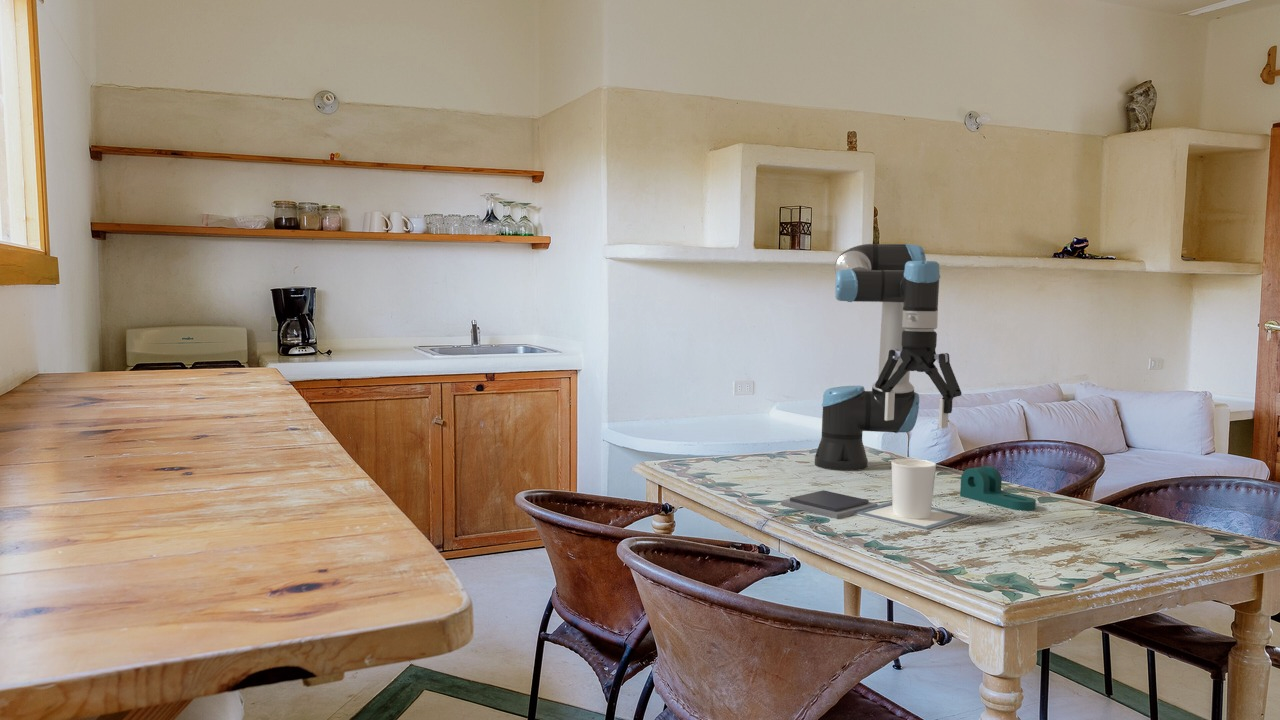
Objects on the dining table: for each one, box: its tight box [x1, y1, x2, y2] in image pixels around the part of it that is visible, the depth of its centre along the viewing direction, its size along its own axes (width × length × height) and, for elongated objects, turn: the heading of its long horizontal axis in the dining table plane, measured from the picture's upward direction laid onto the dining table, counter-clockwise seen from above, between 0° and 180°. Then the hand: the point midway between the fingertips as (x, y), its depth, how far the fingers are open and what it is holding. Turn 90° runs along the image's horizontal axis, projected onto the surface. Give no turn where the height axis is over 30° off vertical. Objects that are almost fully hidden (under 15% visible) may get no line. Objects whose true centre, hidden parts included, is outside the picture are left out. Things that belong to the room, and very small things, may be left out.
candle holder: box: [890, 458, 937, 519], centre depth 201 cm, size 10×10×12 cm
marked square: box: [853, 501, 973, 532], centre depth 202 cm, size 19×19×1 cm
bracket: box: [959, 465, 1037, 512], centre depth 216 cm, size 18×7×8 cm, turn 31°
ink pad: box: [780, 490, 878, 519], centre depth 209 cm, size 16×16×2 cm
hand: (915, 423), depth 201 cm, fingers open, 13 cm apart
